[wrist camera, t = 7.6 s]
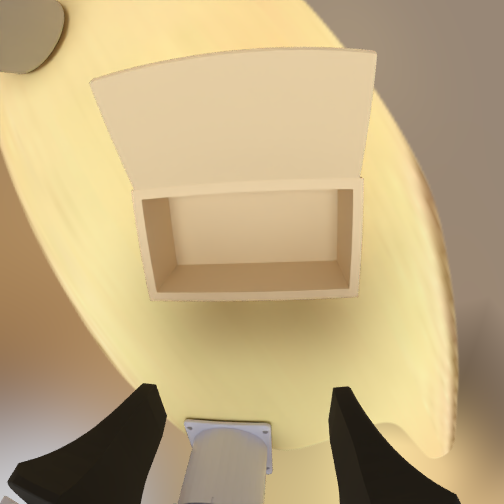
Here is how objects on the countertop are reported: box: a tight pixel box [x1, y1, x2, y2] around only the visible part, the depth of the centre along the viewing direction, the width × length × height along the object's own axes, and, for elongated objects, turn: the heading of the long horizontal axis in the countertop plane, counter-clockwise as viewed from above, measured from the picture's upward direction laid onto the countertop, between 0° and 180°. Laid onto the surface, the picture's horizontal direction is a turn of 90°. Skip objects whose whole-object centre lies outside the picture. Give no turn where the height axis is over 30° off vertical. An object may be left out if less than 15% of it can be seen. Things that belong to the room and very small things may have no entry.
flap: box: [89, 47, 377, 190], centre depth 12 cm, size 6×11×1 cm
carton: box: [131, 177, 364, 301], centre depth 17 cm, size 6×11×4 cm, turn 94°
